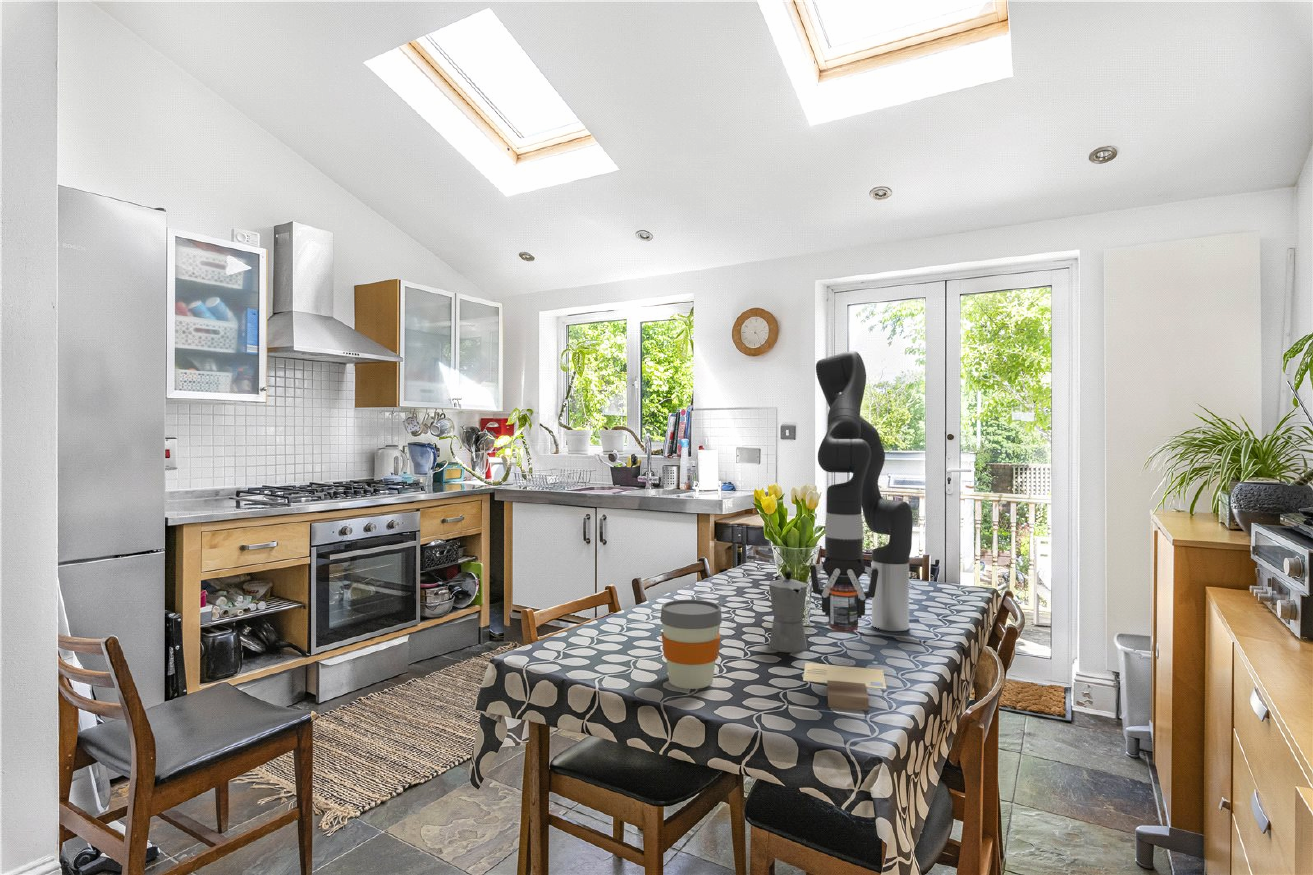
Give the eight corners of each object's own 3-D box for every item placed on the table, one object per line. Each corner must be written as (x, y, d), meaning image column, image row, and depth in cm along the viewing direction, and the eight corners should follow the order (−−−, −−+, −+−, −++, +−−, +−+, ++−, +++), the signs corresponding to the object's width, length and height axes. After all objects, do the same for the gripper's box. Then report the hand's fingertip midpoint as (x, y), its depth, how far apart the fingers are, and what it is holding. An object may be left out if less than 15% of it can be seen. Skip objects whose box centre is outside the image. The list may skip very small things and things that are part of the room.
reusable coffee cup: (719, 670, 140) (720, 599, 140) (723, 693, 127) (724, 615, 127) (661, 669, 140) (661, 598, 140) (658, 691, 128) (659, 614, 128)
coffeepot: (817, 656, 149) (817, 576, 149) (777, 657, 148) (777, 577, 148) (794, 635, 164) (794, 563, 164) (757, 637, 163) (758, 564, 163)
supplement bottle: (835, 622, 141) (836, 569, 141) (862, 628, 137) (863, 573, 137) (823, 628, 136) (823, 574, 136) (851, 634, 132) (851, 578, 132)
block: (827, 695, 127) (827, 680, 127) (865, 699, 125) (865, 683, 125) (828, 710, 120) (828, 694, 120) (868, 714, 118) (868, 697, 118)
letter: (805, 664, 144) (805, 662, 144) (882, 671, 139) (882, 669, 139) (802, 681, 133) (802, 680, 133) (886, 690, 129) (886, 688, 129)
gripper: (807, 536, 135) (806, 618, 135) (881, 539, 131) (880, 623, 131) (809, 531, 142) (808, 609, 142) (879, 534, 138) (878, 614, 138)
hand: (843, 615), depth 136 cm, fingers closed on supplement bottle, 6 cm apart
